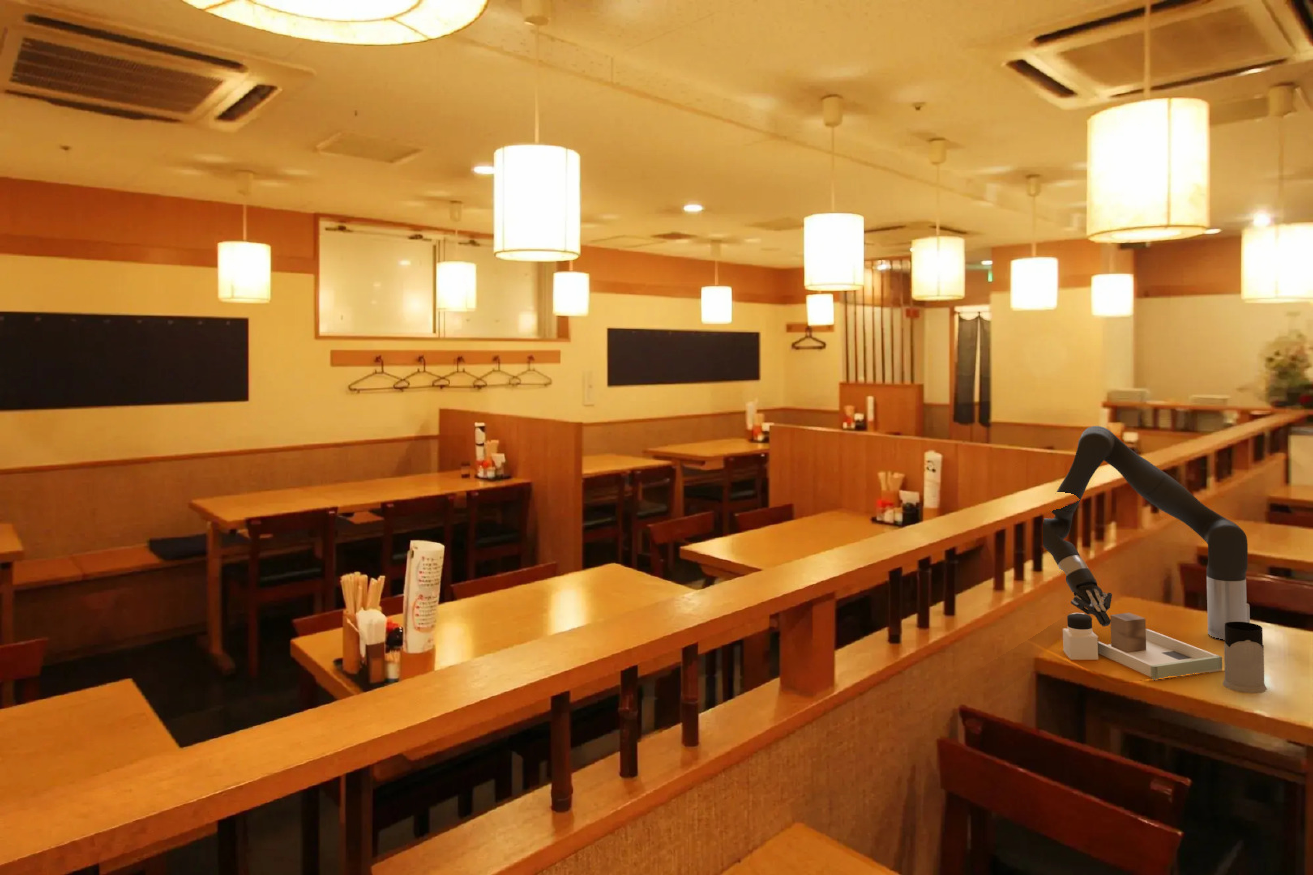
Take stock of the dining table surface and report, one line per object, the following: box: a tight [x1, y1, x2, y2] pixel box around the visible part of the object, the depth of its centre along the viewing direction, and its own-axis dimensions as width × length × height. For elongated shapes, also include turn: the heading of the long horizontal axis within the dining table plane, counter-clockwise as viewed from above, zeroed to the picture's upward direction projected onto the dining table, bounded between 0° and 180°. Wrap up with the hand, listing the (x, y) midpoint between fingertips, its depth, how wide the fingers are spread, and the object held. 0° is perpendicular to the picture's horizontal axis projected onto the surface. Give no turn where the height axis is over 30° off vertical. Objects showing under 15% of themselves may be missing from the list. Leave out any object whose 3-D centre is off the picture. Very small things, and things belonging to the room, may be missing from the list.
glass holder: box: [1222, 621, 1267, 694], centre depth 201 cm, size 9×14×15 cm, turn 157°
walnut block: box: [1109, 612, 1147, 653], centre depth 227 cm, size 6×6×9 cm
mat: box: [1163, 651, 1191, 660], centre depth 220 cm, size 4×6×1 cm, turn 10°
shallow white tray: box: [1098, 628, 1223, 681], centre depth 220 cm, size 20×25×4 cm
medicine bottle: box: [1062, 612, 1099, 662], centre depth 225 cm, size 7×7×12 cm
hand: (1107, 624), depth 236 cm, fingers closed
